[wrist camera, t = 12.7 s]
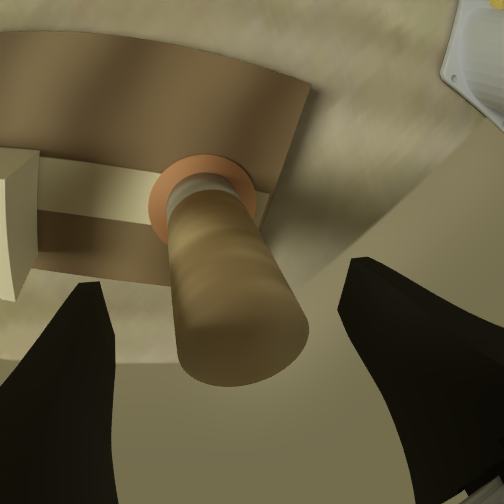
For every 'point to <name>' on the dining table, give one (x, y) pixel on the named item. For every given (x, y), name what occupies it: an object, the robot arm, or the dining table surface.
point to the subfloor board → (136, 140)
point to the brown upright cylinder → (227, 288)
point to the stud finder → (17, 218)
